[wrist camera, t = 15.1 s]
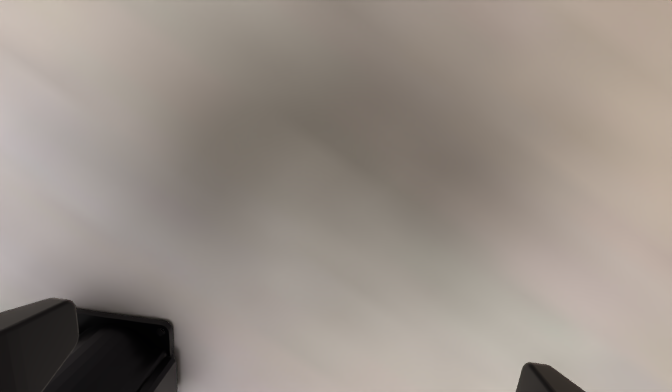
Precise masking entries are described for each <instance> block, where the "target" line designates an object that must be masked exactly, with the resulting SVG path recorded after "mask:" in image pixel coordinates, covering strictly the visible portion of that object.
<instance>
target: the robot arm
mask: <svg viewBox="0 0 672 392" xmlns="http://www.w3.org/2000/svg"><path fill="white" fill-rule="evenodd" d="M160 328H161V329H163V330H164V331H165V332H163V331H162V330H161V329H160ZM0 392H177V365H176V359H175V357H174V350H173V328H172V326H171V324H170V323H168V322H167V321H163V320H156V319H148V318H141V317H133V316H126V315H119V314H111V313H104V312H96V311H89V310H82V309H76V306H75V304H74V302H72V301H71V300H66V299H59V298H49V299H45V300H42V301H38V302H35V303H32V304H28V305H25V306H21V307H18V308H15V309H11V310H8V311H4V312H1V313H0ZM516 392H585V391H584V390H582V389H581V388H580V387H578V386H577V385H576V384H574V383H573V382H571V381H570V380H569V379H567V378H566V377H565V376H563V375H562V374H561V373H559V372H558V371H557V370H555V369H554V368H552V367H551V366H549V365H546V364H539V363H531V362H528V363H526V364H525V365H524V366H523V368H522V371H521V375H520V378H519V382H518V386H517V389H516Z"/></svg>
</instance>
